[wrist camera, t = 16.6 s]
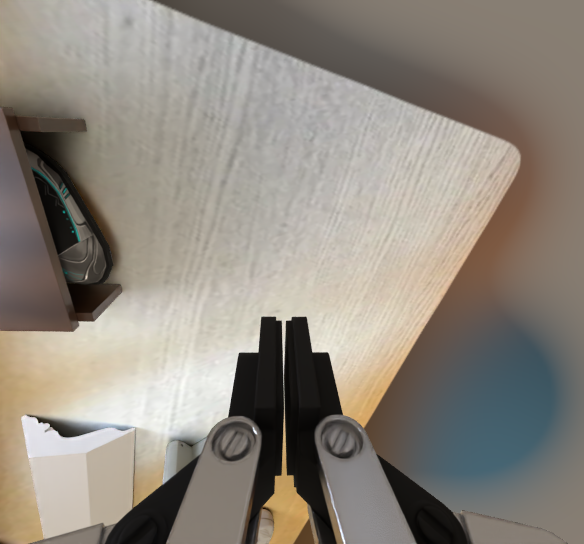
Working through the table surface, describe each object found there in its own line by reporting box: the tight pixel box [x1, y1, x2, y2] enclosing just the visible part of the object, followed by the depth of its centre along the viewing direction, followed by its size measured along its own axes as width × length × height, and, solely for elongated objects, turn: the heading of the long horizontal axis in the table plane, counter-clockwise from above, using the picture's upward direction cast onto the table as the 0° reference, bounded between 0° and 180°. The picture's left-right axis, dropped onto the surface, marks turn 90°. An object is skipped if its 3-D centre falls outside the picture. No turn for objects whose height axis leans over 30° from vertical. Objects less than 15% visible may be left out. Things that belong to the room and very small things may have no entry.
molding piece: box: [21, 415, 135, 539], centre depth 50 cm, size 32×12×10 cm
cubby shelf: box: [0, 107, 122, 332], centre depth 28 cm, size 19×12×7 cm, turn 177°
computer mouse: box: [23, 142, 113, 285], centre depth 28 cm, size 9×17×6 cm, turn 30°
